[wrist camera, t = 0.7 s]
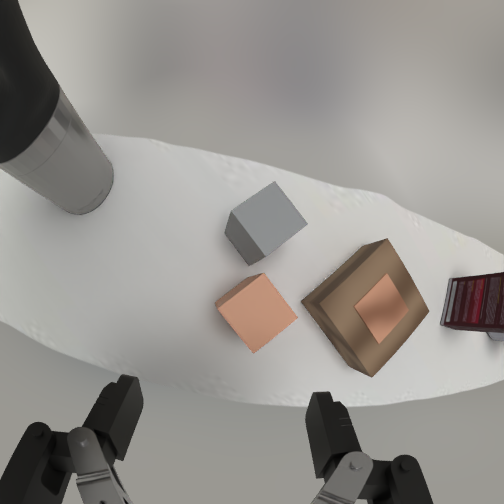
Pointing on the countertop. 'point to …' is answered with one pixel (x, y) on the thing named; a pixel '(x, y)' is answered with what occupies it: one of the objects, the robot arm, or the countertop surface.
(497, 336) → the soap bottle
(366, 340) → the walnut base block
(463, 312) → the supplement box
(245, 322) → the terracotta pillar
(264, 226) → the slate-grey pillar
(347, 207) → the countertop surface
